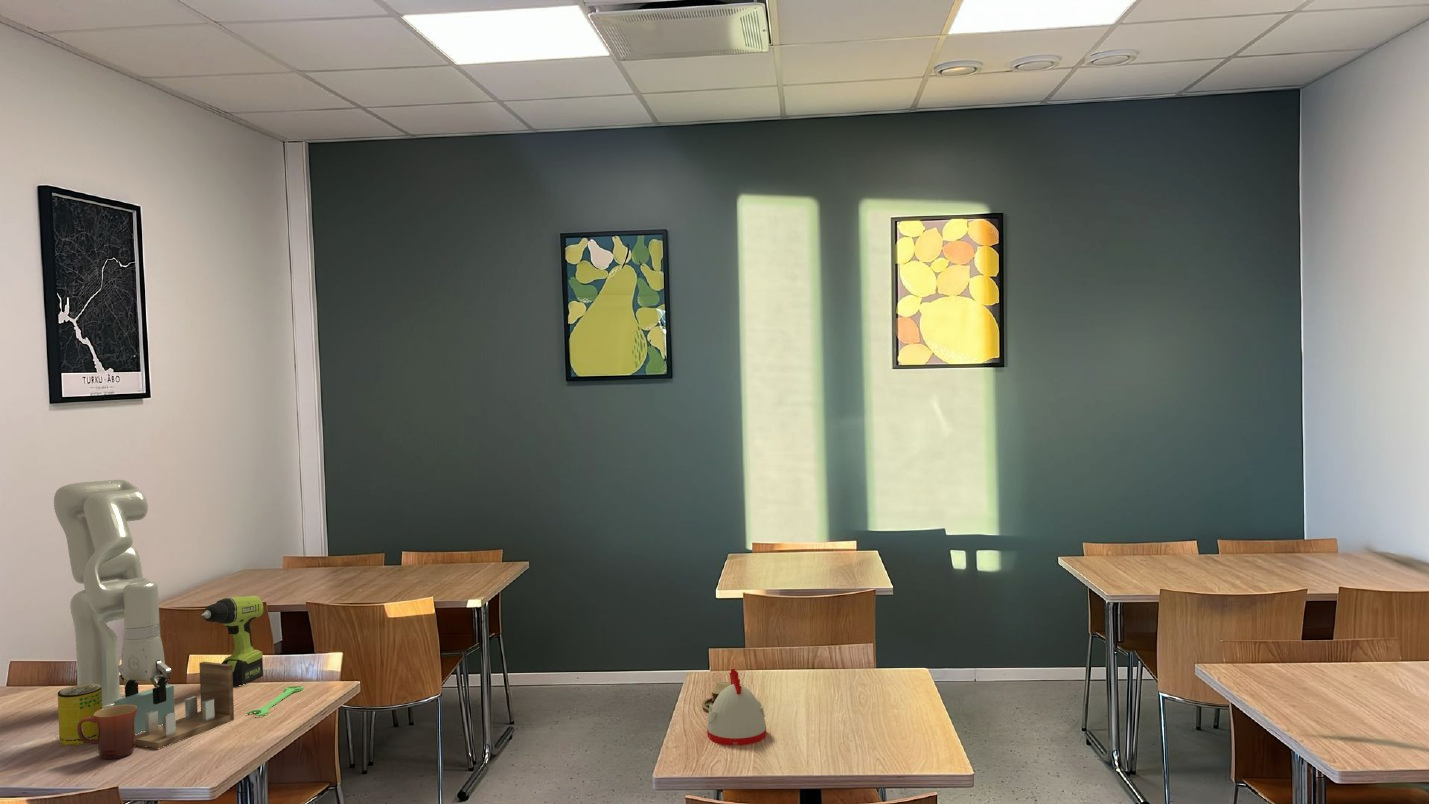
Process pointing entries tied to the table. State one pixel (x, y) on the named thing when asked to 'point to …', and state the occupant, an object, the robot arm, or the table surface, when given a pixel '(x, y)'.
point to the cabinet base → (194, 709)
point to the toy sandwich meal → (715, 694)
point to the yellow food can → (78, 712)
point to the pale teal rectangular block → (148, 706)
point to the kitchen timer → (736, 716)
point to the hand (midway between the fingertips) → (145, 701)
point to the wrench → (276, 700)
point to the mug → (112, 731)
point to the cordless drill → (239, 634)
